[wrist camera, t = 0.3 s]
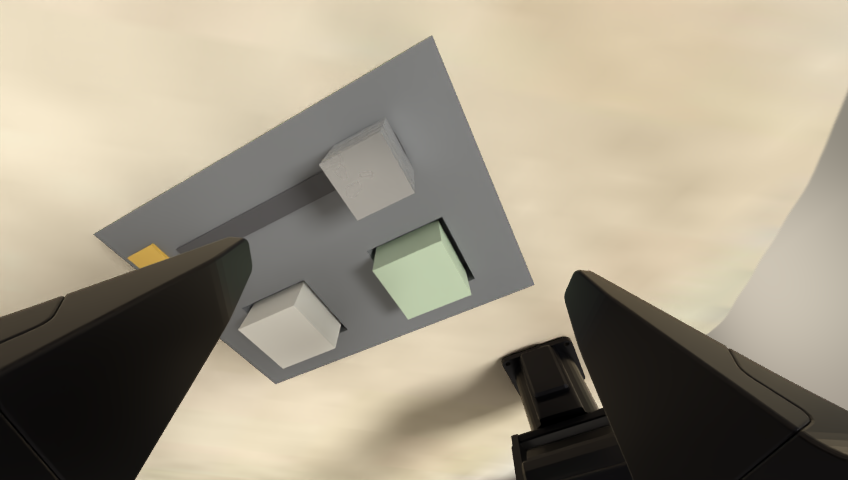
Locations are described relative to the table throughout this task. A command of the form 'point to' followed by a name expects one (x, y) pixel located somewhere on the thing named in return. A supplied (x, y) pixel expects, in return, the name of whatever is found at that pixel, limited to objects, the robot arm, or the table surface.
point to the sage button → (421, 270)
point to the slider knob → (369, 170)
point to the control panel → (340, 210)
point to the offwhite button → (292, 325)
